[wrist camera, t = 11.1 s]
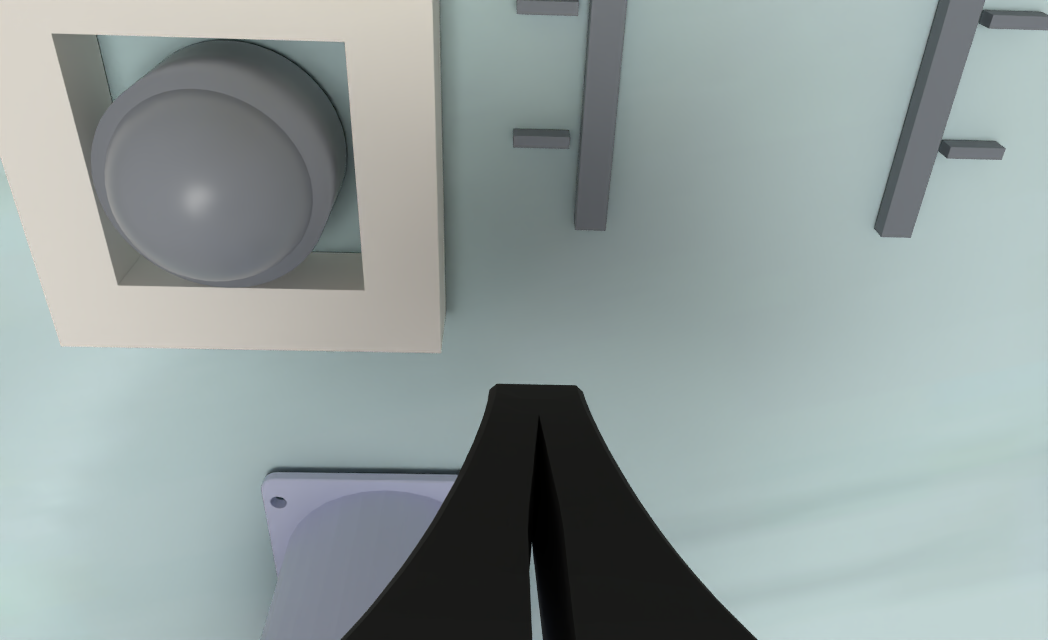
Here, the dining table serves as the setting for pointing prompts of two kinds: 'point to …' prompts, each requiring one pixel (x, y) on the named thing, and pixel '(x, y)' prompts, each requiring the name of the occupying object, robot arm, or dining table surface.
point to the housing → (245, 312)
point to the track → (916, 141)
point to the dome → (221, 164)
